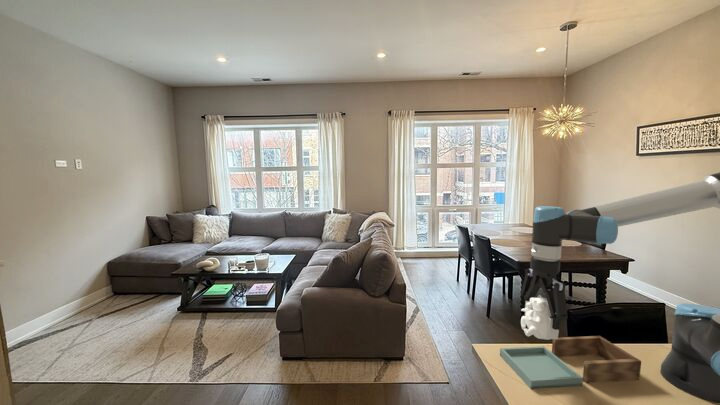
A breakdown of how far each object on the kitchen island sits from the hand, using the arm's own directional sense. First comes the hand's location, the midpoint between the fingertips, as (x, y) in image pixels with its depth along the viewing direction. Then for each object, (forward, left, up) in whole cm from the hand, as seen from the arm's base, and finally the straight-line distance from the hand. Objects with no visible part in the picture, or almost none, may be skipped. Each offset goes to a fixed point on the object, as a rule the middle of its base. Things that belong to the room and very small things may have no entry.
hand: (540, 329), depth 90 cm
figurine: (0, 0, -2) cm, 2 cm away
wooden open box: (-15, -10, -13) cm, 23 cm away
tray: (0, 0, -13) cm, 13 cm away
